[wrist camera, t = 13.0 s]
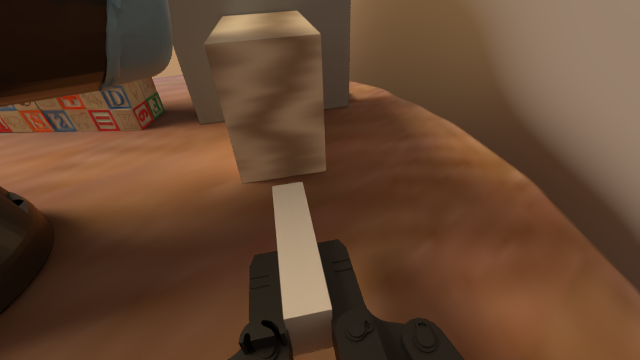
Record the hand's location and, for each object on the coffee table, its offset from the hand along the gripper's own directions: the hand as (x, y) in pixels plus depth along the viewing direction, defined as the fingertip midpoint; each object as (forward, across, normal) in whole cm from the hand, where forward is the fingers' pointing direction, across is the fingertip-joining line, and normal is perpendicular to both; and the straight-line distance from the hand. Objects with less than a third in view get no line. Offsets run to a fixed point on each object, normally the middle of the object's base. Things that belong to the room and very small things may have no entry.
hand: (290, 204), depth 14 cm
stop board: (+27, 0, -6) cm, 28 cm away
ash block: (+18, 0, -6) cm, 19 cm away
